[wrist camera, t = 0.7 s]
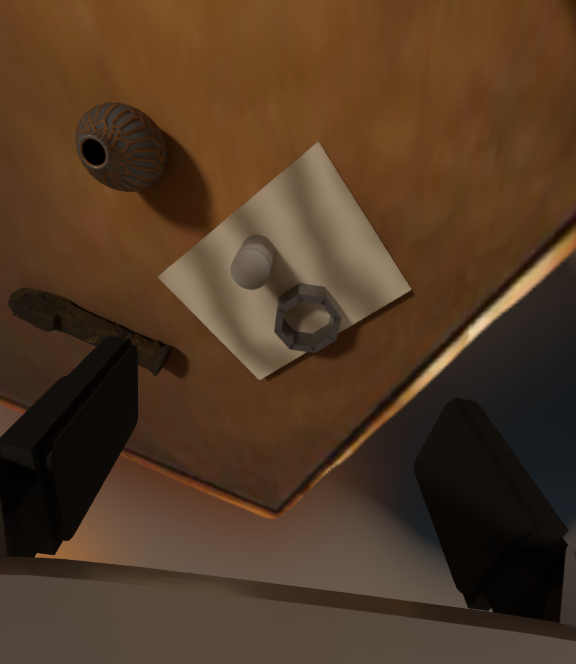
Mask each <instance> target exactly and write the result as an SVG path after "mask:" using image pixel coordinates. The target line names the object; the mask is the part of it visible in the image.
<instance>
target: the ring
mask: <svg viewBox="0 0 576 664" xmlns="http://www.w3.org/2000/svg"><path fill="white" fill-rule="evenodd" d="M299 302H308V303H315V304H322V305H323V307H324V308H325V309H326V310H327V312H328V313H329V314H330V318H329V322H328V324H327V325H326V326H324V327H322V328H321V329H319V330H317V331H316V332H314V333H306V332H299V331H294V330H293V329H292V327H291V326H290V325H289V324H288V323H287V322H286V320H285V319H284V318H283V316H284V312H286V311H287V310H289V309H290V308H292V307H293V306H295V305H296V304H298V303H299ZM341 318H342V317H341V312H340V307H339V305H338V303H337V302H336V301H335V299H334V298H333V297H332V295H331V294H330V293H329V291H328V290H327V289H326V287H324V286H317V285H310V284H303V283H299V284H297V285H296V286H294V287H293V288H291V289H290V290H288V291H287V292H286V293H284V294H283V295H281V296H280V297H279V300H278V306H277V313H276V320H275V328H274V332H275V334H276V335H277V336H278V337H279V338H280V339H281V340H282V341H283V343H284V344H285V345H286V346H287V347H288V348H289V349H290V350H296V351H303V352H311V353H316V352H317V351H319V350H321V349H323V348H324V347H326V346H328V345H329V344H331V343H333V342H334V341H336V339H337V335H338V331H339V327H340V322H341Z"/></svg>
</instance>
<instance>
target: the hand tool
mask: <svg viewBox="0 0 576 664" xmlns="http://www.w3.org/2000/svg"><path fill="white" fill-rule="evenodd" d="M8 305H9V308H10V309H11V310H12V311H13V315H15V316H17V317H18V318H20V319H22V320H25V321H27V322H29V323H30V324H32V325H34V326H36V327H37V328H39V329H42V330H44V331H48V332H50V331H53V330H58V331H61V332H63V333H67V334H69V335H72V336H74V337H76V338H78V339H80V340H82V341H85V342H87V343H89V344H91V345H94V346H96V347H97V346H98V345H99V344H100V343H101V342H102V341H103V340H104V339H105V338H106V337H107V336H115V337H121V338H126V339H130V340H131V342H132V345H136V346H137V350H138V365H139V366H141V367H143V368H146V369H148V370H149V371H151V372H152V374H153V375H154V376H156V375H157V374H158V373H159V372H160V370H161V369H162V368H163V366H164V364H165V363H166V361H167V359H168V357H169V354H170V349H171V346H170V345H167V346H163V345H162V344H161V342H160V341H156V342H154V341H151V340H149V339H146V338H144V337H142V336H140V335H138V334H135V333H132V332H130V331H128V330H126V329H123V328H121V327H120V326H119V325H118V324H113V323H111V322H108V321H107V320H105V319H101V318H99V317H97V316H95V315H93V314H90V313H88V312H86V311H84V310H81V309H79V308H77V307H75V306H74V304H73V302H72V301H71V300H69V299H66V298H63V297H61V296H58V295H55V294H51V293H47V292H43V291H38V290H34V289H28V288H22V289H19V290H17V291H15V292H14V293H12V294H11V297H10V299H9V301H8Z"/></svg>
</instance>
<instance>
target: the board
mask: <svg viewBox="0 0 576 664" xmlns="http://www.w3.org/2000/svg"><path fill="white" fill-rule="evenodd" d="M158 278H159V279H160V280H161V281H162V282H163V283H164V284H165V285H166V286H167V287H168V288H169V289H170V290H171V291H172V292H173V293H174V294H175V295H176V296H177V297H178V298H179V299H180V300H181V301H182V302H183V303H184V304H185V305H186V306H187V307H188V308H189V309H190V310H191V311H192V312H193V313H194V314H195V315H196V316H197V317H198V318H199V319H200V320H201V321H202V322H203V323H204V324H205V326H206V327H207V328H208V329H209V330H210V331H211V332H212V333H213V334H214V335H215V336H216V337H217V338H218V339H219V340H220V341H221V342H222V343H223V344H224V345H225V346H226V347H227V348H228V349H229V350H230V351H231V352H232V353H233V354H234V355H235V356H236V357H237V358H238V359H239V360H240V361H241V362H242V363H243V364H244V365H245V366H246V367H247V368H248V369H249V370H250V371H251V372H252V373H253V374H254V375H255V376H256V377H257V378H258V379H259V380H261V379H263V378H264V377H266V376H268V375H269V374H271V373H273V372H274V371H276V370H278V369H279V368H281V367H283V366H284V365H286V364H288V363H289V362H291V361H293V360H294V359H296V358H298V357H299V356H301V355H303V354H305V353H306V352H303V351H296V350H290V349H289V348H288V347H287V346H286V345H285V344H284V343H283V341H282V340H281V339H280V338H279V337H278V336H277V335H276V334H275V332H274V328H275V320H276V313H277V306H278V300H279V297H280V296H281V295H283V294H284V293H286V292H287V291H288V290H290V289H291V288H293V287H294V286H296V285H297V284H299V283H303V284H310V285H317V286H324V287H326V289H327V290H328V291H329V293H330V294H331V295H332V297H333V298H334V299H335V301H336V302H337V303H338V305H339V307H340V312H341V317H342V318H341V322H340V327H339V331H338V333H340V332H341V331H343V330H345V329H346V328H348V327H350V326H352V325H353V324H355V323H357V322H358V321H360V320H362V319H363V318H365V317H367V316H368V315H370V314H372V313H373V312H375V311H377V310H378V309H380V308H382V307H383V306H385V305H387V304H388V303H390V302H392V301H393V300H395V299H397V298H399V297H400V296H402V295H404V294H405V293H407V292H409V291H410V290H411V288H410V286H409V285H408V283H407V282H406V280H405V278H404V277H403V275H402V274H401V272H400V271H399V269H398V267H397V266H396V264H395V263H394V261H393V259H392V258H391V256H390V255H389V253H388V251H387V250H386V248H385V247H384V245H383V244H382V242H381V240H380V239H379V237H378V236H377V234H376V232H375V231H374V229H373V228H372V226H371V224H370V223H369V221H368V220H367V218H366V217H365V215H364V213H363V212H362V210H361V209H360V207H359V205H358V204H357V202H356V201H355V199H354V197H353V196H352V194H351V193H350V191H349V189H348V188H347V186H346V185H345V183H344V182H343V180H342V178H341V177H340V175H339V174H338V172H337V170H336V169H335V167H334V166H333V164H332V162H331V161H330V159H329V158H328V156H327V155H326V153H325V151H324V150H323V148H322V147H321V145H320V143H319V142H317V143H316V144H315V145H314V146H312V147H311V148H310V149H309V150H308V151H306V152H305V153H304V154H303V155H302V156H300V157H299V158H298V159H297V160H296V161H294V162H293V163H292V164H291V165H290V166H289V167H287V168H286V169H285V170H284V171H283V172H281V173H280V174H279V175H278V176H277V177H275V178H274V179H273V180H272V181H271V182H270V183H268V184H267V185H266V186H265V187H264V188H262V189H261V190H260V191H259V192H258V193H256V194H255V195H254V196H253V197H252V198H251V199H249V200H248V201H247V202H246V203H245V204H243V205H242V206H241V207H240V208H239V209H237V210H236V211H235V212H234V213H233V214H231V215H230V216H229V217H228V218H227V219H226V220H224V221H223V222H222V223H221V224H220V225H218V226H217V227H216V228H215V229H214V230H212V231H211V232H210V233H209V234H208V235H207V236H205V237H204V238H203V239H202V240H201V241H199V242H198V243H197V244H196V245H195V246H193V247H192V248H191V249H190V250H189V251H188V252H186V253H185V254H184V255H183V256H182V257H180V258H179V259H178V260H177V261H176V262H174V263H173V264H172V265H171V266H170V267H168V268H167V269H166V270H165V271H164V272H163V273H162V274H161V275H160V276H159V277H158ZM283 318H284V319H285V320H286V322H287V323H288V324H289V325H290V326H291V327H292V329H293V330H294V331H299V332H306V333H314V332H316V331H317V330H319V329H321V328H322V327H324V326H326V325H327V324H328V322H329V318H330V314H329V313H328V312H327V310H326V309H325V308H324V307H323V305H322V304H315V303H308V302H299V303H298V304H296V305H295V306H293V307H292V308H290V309H289V310H287V311H286V312H284V316H283Z"/></svg>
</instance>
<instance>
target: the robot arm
mask: <svg viewBox="0 0 576 664" xmlns="http://www.w3.org/2000/svg"><path fill="white" fill-rule="evenodd" d="M137 420H138V350H137V346H136V345H132V342H131V340H130V339H126V338H121V337H115V336H107V337H106V338H105V339H104V340H103V341H102V342H101V343H100V344H99V345H98V346H97V347H96V348H95V349H94V350H93V351H92V352H91V353H90V354H89V355H88V356H87V357H86V358H85V359H84V360H83V361H82V362H81V363H80V364H79V365H78V366H77V367H76V368H75V369H74V370H73V371H72V372H71V373H70V374H69V375H68V376H65V377H62V378H60V379H59V380H58V381H57V382H56V383H55V384H54V385H53V386H52V387H51V388H50V389H49V390H48V391H47V392H46V393H45V394H44V395H43V396H42V397H41V398H40V399H39V400H38V401H37V402H36V403H35V404H34V405H33V406H31V407H30V408H29V409H28V410H27V411H26V412H25V413H24V414H23V415H22V416H21V417H20V418H19V419H18V420H17V421H16V422H15V423H14V424H13V425H12V426H11V427H10V428H9V429H8V430H7V431H6V432H5V433H4V434H3V435H2V436H1V437H0V664H576V541H573V542H571V543H569V544H567V543H566V542H565V540H564V539H563V536H564V535H565V534H566V533H567V532H568V531H569V530H568V529H567V528H566V526H565V525H564V523H563V522H562V521H561V519H560V518H559V516H558V515H557V514H556V512H555V511H554V509H553V508H552V506H551V505H550V504H549V502H548V501H547V499H546V498H545V497H544V495H543V494H542V492H541V491H540V490H539V488H538V487H537V485H536V484H535V482H534V481H533V480H532V478H531V477H530V475H529V474H528V473H527V471H526V470H525V468H524V467H523V465H522V464H521V463H520V461H519V460H518V458H517V457H516V456H515V454H514V453H513V451H512V450H511V449H510V447H509V446H508V444H507V443H506V442H505V440H504V439H503V437H502V436H501V435H500V433H499V432H498V430H497V429H496V427H495V426H494V425H493V423H492V422H491V420H490V419H489V418H488V416H487V415H486V413H485V412H484V410H483V409H482V408H481V406H480V405H479V404H478V403H477V402H476V401H472V400H466V399H460V398H455V399H454V400H453V401H452V402H448V403H447V404H446V405H445V407H444V409H443V411H442V413H441V415H440V417H439V418H438V420H437V422H436V424H435V425H434V427H433V429H432V431H431V433H430V434H429V436H428V438H427V440H426V442H425V444H424V446H423V447H422V449H421V451H420V453H419V455H418V456H417V458H416V460H415V463H414V472H415V475H416V478H417V481H418V483H419V486H420V489H421V492H422V495H423V497H424V500H425V503H426V506H427V508H428V511H429V514H430V517H431V519H432V522H433V525H434V528H435V530H436V533H437V536H438V538H439V541H440V544H441V547H442V550H443V552H444V555H445V558H446V561H447V563H448V566H449V569H450V572H451V574H452V577H453V580H454V582H455V585H456V587H457V589H458V590H459V591H460V592H461V593H463V595H464V598H465V601H466V604H467V606H468V608H470V609H465V608H457V607H450V606H442V605H435V604H427V603H419V602H412V601H405V600H397V599H390V598H383V597H375V596H366V595H358V594H352V593H344V592H336V591H328V590H321V589H312V588H305V587H297V586H289V585H281V584H273V583H266V582H258V581H250V580H242V579H233V578H225V577H217V576H209V575H200V574H193V573H184V572H176V571H168V570H160V569H151V568H144V567H135V566H134V567H133V566H124V565H115V564H106V563H95V562H87V561H77V560H67V559H54V558H35V555H36V554H37V553H41V554H49V555H55V554H56V552H57V550H58V548H59V547H60V545H61V543H62V542H63V540H64V541H69V540H70V539H71V538H72V537H73V536H74V534H75V532H76V531H77V529H78V527H79V525H80V524H81V522H82V520H83V518H84V517H85V515H86V513H87V511H88V510H89V508H90V506H91V504H92V502H93V501H94V499H95V497H96V495H97V494H98V492H99V490H100V488H101V487H102V485H103V483H104V481H105V479H106V478H107V476H108V474H109V473H110V471H111V469H112V467H113V466H114V464H115V462H116V460H117V458H118V457H119V455H120V453H121V451H122V450H123V448H124V446H125V444H126V443H127V441H128V439H129V437H130V436H131V434H132V432H133V430H134V428H135V426H136V424H137ZM491 608H492V610H493V612H487V611H489V609H491ZM472 609H478V610H472ZM480 610H486V611H480Z"/></svg>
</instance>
